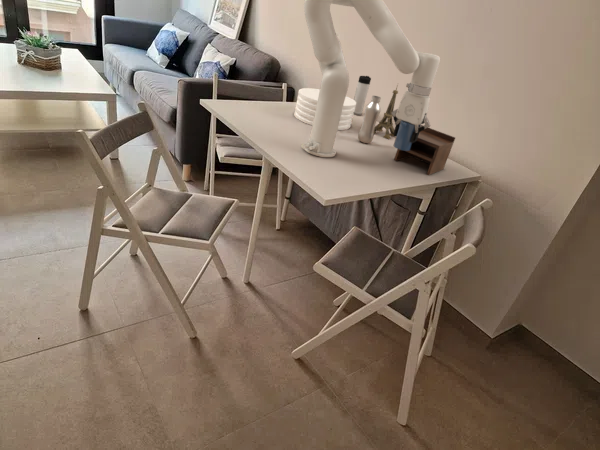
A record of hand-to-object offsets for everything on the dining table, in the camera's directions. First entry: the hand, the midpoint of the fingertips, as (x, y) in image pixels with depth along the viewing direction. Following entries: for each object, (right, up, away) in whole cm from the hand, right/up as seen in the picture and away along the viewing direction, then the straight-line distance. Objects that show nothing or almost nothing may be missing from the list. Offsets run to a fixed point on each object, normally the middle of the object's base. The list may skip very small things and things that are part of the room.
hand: (404, 138), depth 157 cm
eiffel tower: (+1, +12, +47) cm, 48 cm away
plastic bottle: (-11, +4, +28) cm, 31 cm away
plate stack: (-28, +19, +47) cm, 58 cm away
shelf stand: (+10, -8, +15) cm, 20 cm away
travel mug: (-8, +29, +73) cm, 79 cm away
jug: (-1, -3, +2) cm, 4 cm away
